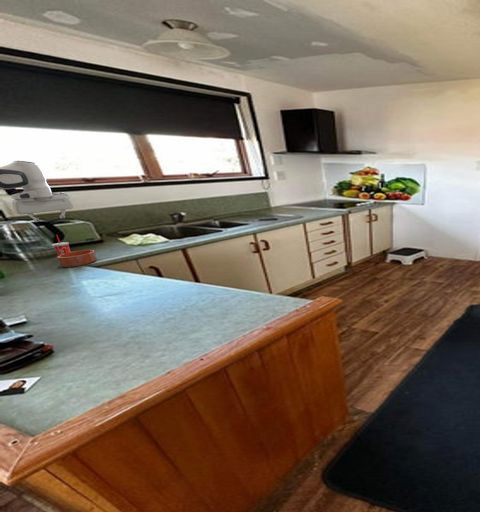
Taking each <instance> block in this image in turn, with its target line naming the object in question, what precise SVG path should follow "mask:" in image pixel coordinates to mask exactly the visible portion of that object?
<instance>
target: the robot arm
mask: <svg viewBox="0 0 480 512" xmlns="http://www.w3.org/2000/svg"><path fill="white" fill-rule="evenodd" d="M16 188H22V189H23V191H20V192H17V193H14V194H11V198H12V199H13V200H11V201H12V202H11V205H12V209H13V211H14V213H15V214H17V215H27V216H28V217H30V218H31V219H33V221H34V223H39V222H41V220H40V218H39V217H35V214H37V213H46V212H54V211H60V212H61V214H59V219H61V220H62V219H66V216H65V215H66V212H67V211H66V210H72V209H73V208H74V205H73V202H72V201H71V200H70V198H71V197H70V195H69V194H68V193H67V192H64V191H59V192H53V191H52V189H51V187H50V186H49V184H48V183H47V178H46V176H45V173H44V171H43V169H42V168H41V167H40V165H39V164H37V163H36V162H34V161H33V162H32V161H28V160H27V161H26V160H14V161H12V162H11V163H9V164H6V165H3V166H0V190H12V189H16Z"/></svg>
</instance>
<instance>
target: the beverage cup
mask: <svg viewBox="0 0 480 512" xmlns="http://www.w3.org/2000/svg"><path fill="white" fill-rule="evenodd" d="M55 236H56V239H57V241H58V242H57V243H56V242H55V243H53V244H51V246H52V247H53V249H54V250H55V252H56V254H57V256H59V255H61V254H65V253H69V252H72V251H71V248H70V245H69V241H63V242H61V241H60V238H59V236H58V234H55Z"/></svg>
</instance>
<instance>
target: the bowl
mask: <svg viewBox="0 0 480 512" xmlns="http://www.w3.org/2000/svg"><path fill="white" fill-rule="evenodd" d="M56 258H57V261H58V263H59V266H60V267H62V268H63V267H64V268H76V267H80V266H86V265H90V264H93V263H94V262H96V261H97V260H98V258H97V255H96V252H95V250H93V249H83V250H82V249H81V250H75V251H71V252H69V253H65V254H61V255H59V256H58V255H57V256H56Z"/></svg>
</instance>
